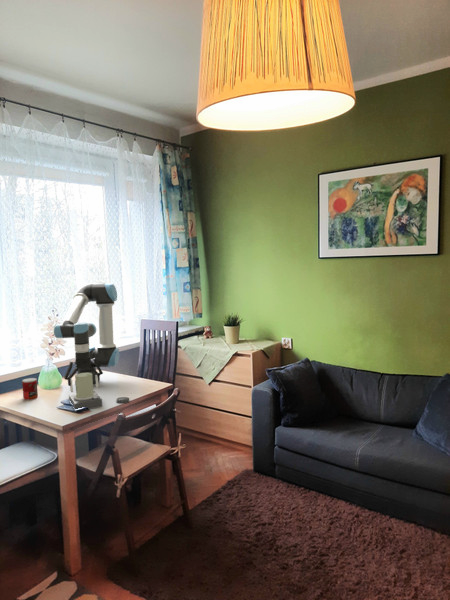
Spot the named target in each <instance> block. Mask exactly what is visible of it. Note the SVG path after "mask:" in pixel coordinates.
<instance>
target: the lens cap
mask: <svg viewBox="0 0 450 600" xmlns="http://www.w3.org/2000/svg"><path fill="white" fill-rule="evenodd" d="M129 402H130V397H128V396H120V397H118V398H116V404H127V403H129Z"/></svg>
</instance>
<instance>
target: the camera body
mask: <svg viewBox="0 0 450 600" xmlns="http://www.w3.org/2000/svg"><path fill="white" fill-rule="evenodd" d="M93 393H94V395H93V396H90V397H86V398H78V397H76V393H73V394H69V395H68V400H70V401H71V403H72V404H73V407H74V408H75V409H78V408H82V407H87V408H88V409H87V410H89V409H96V408H101V407H103V399H102V398H101V396H100V395H99V394H98V393H97V392H96V391H95V390H94V389H93ZM73 407H72V408H73ZM74 408H73V409H74Z"/></svg>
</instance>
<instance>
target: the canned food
mask: <svg viewBox="0 0 450 600" xmlns="http://www.w3.org/2000/svg"><path fill="white" fill-rule="evenodd" d="M21 383H22V384H21V386H22V395H23V396H22V397H23V400H24V401H30V400H31V401H32V400H36V399H37V398H38V395H39V394H38V379H37V378H36V377H29V378H24V379H22V381H21Z"/></svg>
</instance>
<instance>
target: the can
mask: <svg viewBox="0 0 450 600" xmlns="http://www.w3.org/2000/svg"><path fill="white" fill-rule="evenodd" d="M74 376H75V380H76V385H75V394H76V397H78V398H86V397H90V396H93V395H94V393H93V390H94V385H93V379H92V373H80V374H77V373H76V374H74ZM75 380H74V381H75Z"/></svg>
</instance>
